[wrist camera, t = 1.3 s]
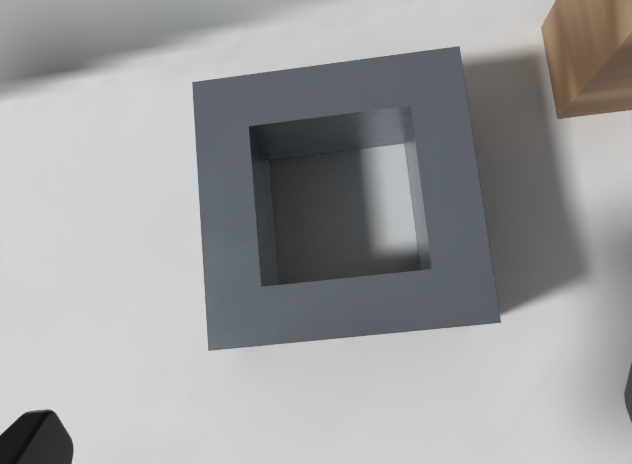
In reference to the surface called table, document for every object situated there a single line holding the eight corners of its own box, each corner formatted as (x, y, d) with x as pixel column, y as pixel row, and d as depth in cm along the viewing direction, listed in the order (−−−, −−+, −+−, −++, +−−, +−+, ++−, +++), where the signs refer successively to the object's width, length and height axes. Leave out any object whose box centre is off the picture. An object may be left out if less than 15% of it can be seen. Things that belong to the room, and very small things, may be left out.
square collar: (478, 324, 22) (500, 322, 18) (237, 347, 23) (208, 350, 19) (445, 93, 24) (459, 46, 20) (221, 122, 25) (192, 82, 21)
